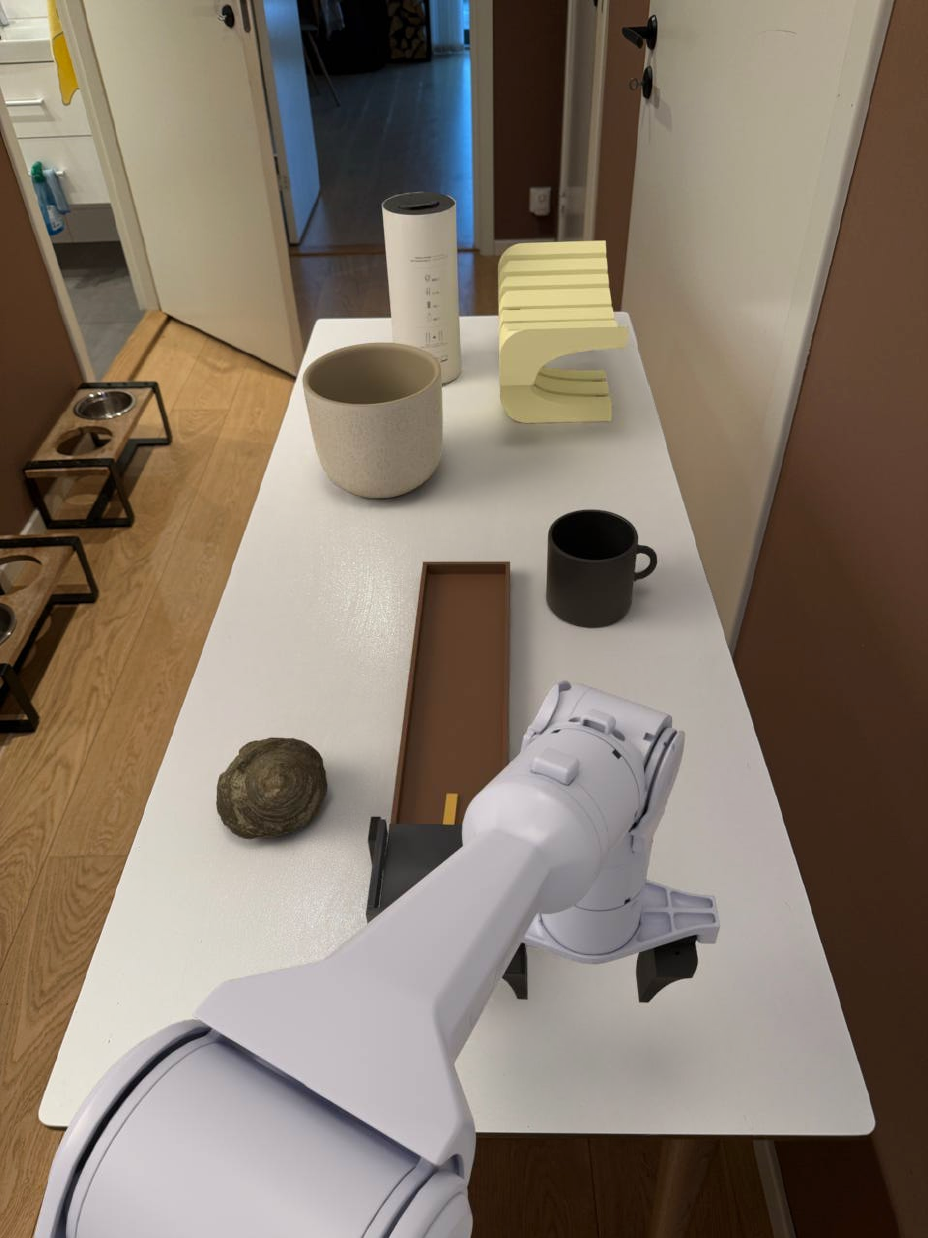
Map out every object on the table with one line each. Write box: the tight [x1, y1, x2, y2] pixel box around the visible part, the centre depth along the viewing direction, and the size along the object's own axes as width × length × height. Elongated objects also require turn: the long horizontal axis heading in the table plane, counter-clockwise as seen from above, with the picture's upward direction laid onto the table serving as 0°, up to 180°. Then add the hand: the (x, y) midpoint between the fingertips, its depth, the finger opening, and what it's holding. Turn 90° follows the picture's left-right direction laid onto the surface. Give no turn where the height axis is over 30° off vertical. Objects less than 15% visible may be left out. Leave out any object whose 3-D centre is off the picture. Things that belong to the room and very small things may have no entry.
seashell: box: [215, 715, 329, 840], centre depth 80 cm, size 11×12×10 cm
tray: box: [389, 560, 511, 825], centre depth 92 cm, size 39×10×2 cm, turn 177°
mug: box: [545, 508, 658, 628], centre depth 100 cm, size 9×12×9 cm
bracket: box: [367, 815, 382, 865], centre depth 77 cm, size 2×13×4 cm, turn 88°
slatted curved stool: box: [497, 240, 629, 424], centre depth 131 cm, size 30×16×18 cm, turn 179°
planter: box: [301, 342, 444, 499], centre depth 118 cm, size 17×17×15 cm
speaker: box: [381, 191, 463, 386], centre depth 137 cm, size 11×10×26 cm
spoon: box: [443, 793, 458, 825], centre depth 80 cm, size 6×2×1 cm, turn 175°
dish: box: [365, 818, 463, 925], centre depth 70 cm, size 15×11×4 cm
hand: (582, 986), depth 59 cm, fingers open, 7 cm apart
